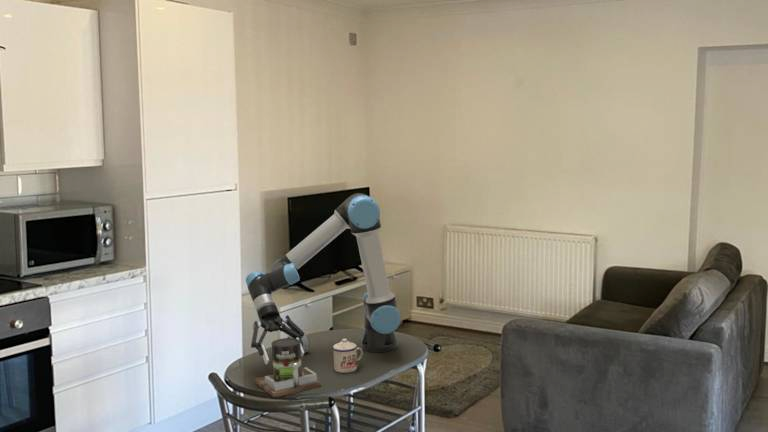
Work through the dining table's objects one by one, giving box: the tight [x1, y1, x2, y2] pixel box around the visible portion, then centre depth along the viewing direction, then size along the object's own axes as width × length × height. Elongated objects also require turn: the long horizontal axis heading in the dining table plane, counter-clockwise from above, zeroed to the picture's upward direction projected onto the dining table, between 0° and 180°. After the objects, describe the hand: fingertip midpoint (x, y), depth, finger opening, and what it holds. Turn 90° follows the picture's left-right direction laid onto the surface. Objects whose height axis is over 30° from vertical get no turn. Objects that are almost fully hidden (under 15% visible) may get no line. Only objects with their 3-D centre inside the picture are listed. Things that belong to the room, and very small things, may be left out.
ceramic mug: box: [286, 334, 311, 354], centre depth 311 cm, size 11×8×8 cm
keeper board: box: [254, 369, 322, 398], centre depth 275 cm, size 18×18×2 cm
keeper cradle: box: [264, 363, 318, 392], centre depth 271 cm, size 10×16×9 cm, turn 120°
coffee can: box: [271, 337, 303, 382], centre depth 274 cm, size 10×10×14 cm
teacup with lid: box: [332, 338, 364, 374], centre depth 289 cm, size 12×9×12 cm
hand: (285, 358), depth 274 cm, fingers open, 13 cm apart
